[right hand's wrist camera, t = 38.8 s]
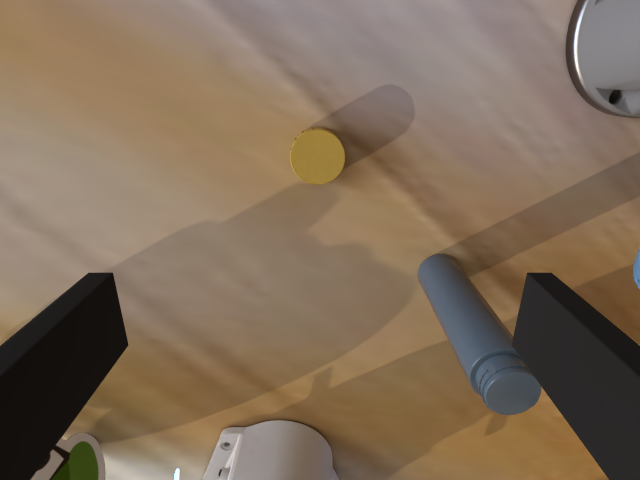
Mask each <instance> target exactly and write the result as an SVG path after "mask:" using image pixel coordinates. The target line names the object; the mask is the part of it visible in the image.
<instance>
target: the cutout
mask: <svg viewBox="0 0 640 480" xmlns="http://www.w3.org/2000/svg"><path fill="white" fill-rule="evenodd" d="M105 475H106V474H105V462H104V457H103V454H102V451H101V448H100V446H99V444H98V442H97V440H96V439H95V438H94V437H92V436H91V435H89V434H87V433H76V434H74V435H73V436H71V437H70V438H68V439H67V440H64V439H62V438H61V439H60V440H59V441H58V443H57V444H56V445H55V447H54V448H53V450H52V451H51V452H50V454H49V455H48V456H47V458H46V459H45V461H44V462H43V463H42V465H41V466H40V467H39V469H38V470H37V472H36V473H35V474H34V476H33V477H32V479H31V480H105Z"/></svg>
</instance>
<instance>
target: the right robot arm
mask: <svg viewBox="0 0 640 480" xmlns="http://www.w3.org/2000/svg"><path fill="white" fill-rule="evenodd" d="M566 60H567V66H568V71H569V74H570V77H571V80H572V82H573V84H574V86H575V88H576V89H577V91H578V92H579V94H580V95H581V96H582V97H583V98H584V99H585V101H587V102H588V103H589V104H590V105H591V106H593V107H595V108H596V109H598V110H600V111H602V112H605V113H608V114H611V115H616V116H624V117H633V118H640V0H578V1H577V4H576V6H575V8H574V11H573V14H572V16H571V20H570V23H569V27H568V32H567V40H566ZM633 275H634V280H635V282H636V284H637V286H638V288H639V289H640V247H639V250H638V253H637V256H636V259H635V262H634V266H633ZM127 346H128V341H127V336H126V332H125V327H124V322H123V318H122V313H121V309H120V304H119V299H118V295H117V290H116V285H115V281H114V276H113V273H88V274H87V275H85V276H84V277H83V278H82V279H81V280H79V281H78V282H77V283H76V284H75V285H73V286H72V287H71V288H70V289H69V290H67V291H66V292H65V293H64V294H62V295H61V296H60V297H59V298H58V299H56V300H55V301H54V302H53V303H52V304H50V305H49V306H48V307H47V308H46V309H44V310H43V311H42V312H41V313H40V314H38V315H37V316H36V317H35V318H33V319H32V320H31V321H30V322H29V323H27V324H26V325H25V326H24V327H23V328H21V329H20V330H19V331H18V332H17V333H15V334H14V335H13V336H12V337H11V338H9V339H8V340H7V341H6V342H4V343H3V344H2V345H1V346H0V480H31V479H32V477H33V476H34V474H35V473H36V472H37V470H38V469H39V467H40V466H41V465H42V463H43V462H44V461H45V459H46V458H47V456H48V455H49V454H50V452H51V451H52V450H53V448H54V447H55V445H56V444H57V443H58V441H59V440H60V439H61V437H62V436H63V434H64V433H65V432H66V430H67V429H68V428H69V426H70V425H71V423H72V422H73V421H74V419H75V418H76V417H77V415H78V414H79V412H80V411H81V410H82V408H83V407H84V406H85V404H86V403H87V401H88V400H89V399H90V397H91V396H92V395H93V393H94V392H95V390H96V389H97V388H98V386H99V385H100V383H101V382H102V381H103V379H104V378H105V377H106V375H107V374H108V372H109V371H110V370H111V368H112V367H113V366H114V364H115V363H116V361H117V360H118V359H119V357H120V356H121V355H122V353H123V352H124V350H125V349H126V348H127ZM512 346H513V348H514V349H515V350H516V352H517V353H518V355H519V356H520V357H521V359H522V360H523V361H524V363H525V364H526V366H527V367H528V368H529V370H530V371H531V372H532V374H533V375H534V377H535V378H536V379H537V381H538V382H539V383H540V385H541V386H542V388H543V389H544V390H545V392H546V393H547V395H548V396H549V397H550V399H551V400H552V401H553V403H554V404H555V406H556V407H557V408H558V410H559V411H560V412H561V414H562V415H563V417H564V418H565V419H566V421H567V422H568V423H569V425H570V426H571V428H572V429H573V430H574V432H575V433H576V434H577V436H578V437H579V439H580V440H581V441H582V443H583V444H584V445H585V447H586V448H587V450H588V451H589V452H590V454H591V455H592V456H593V458H594V459H595V461H596V462H597V463H598V465H599V466H600V467H601V469H602V470H603V472H604V473H605V474H606V476H607V477H608V479H609V480H640V346H639V345H638V344H637V343H636V342H634V341H633V340H632V339H631V338H629V337H628V336H627V335H626V334H625V333H623V332H622V331H621V330H620V329H619V328H617V327H616V326H615V325H614V324H613V323H611V322H610V321H609V320H608V319H607V318H605V317H604V316H603V315H602V314H600V313H599V312H598V311H597V310H596V309H594V308H593V307H592V306H591V305H590V304H588V303H587V302H586V301H585V300H584V299H582V298H581V297H580V296H579V295H578V294H576V293H575V292H574V291H573V290H571V289H570V288H569V287H568V286H567V285H565V284H564V283H563V282H562V281H561V280H559V279H558V278H557V277H556V276H555V275H553V274H552V273H527V276H526V281H525V285H524V290H523V295H522V299H521V304H520V309H519V313H518V318H517V322H516V327H515V332H514V336H513V341H512Z"/></svg>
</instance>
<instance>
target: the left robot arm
mask: <svg viewBox="0 0 640 480" xmlns="http://www.w3.org/2000/svg"><path fill="white" fill-rule="evenodd" d="M175 480H179V469H176V472H175ZM202 480H339V478H338V475H337V474H336V472H335V470H334V469H333V455H332V451H331V448H330V446H329V444H328V442H327V441H326V440H325V438H324V437H323V436H322V435H321V434H319V433H318V432H317V431H315V430H314V429H312V428H310V427H308V426H306V425H303V424H300V423H297V422H292V421H285V420H274V421H266V422H262V423H258V424H255V425H252V426H249V427H230V428H226V429H224V430H223V431H222V433H221V435H220V437H219V440H218V442H217V445H216V447H215V449H214V452H213V454H212V457H211V459H210V462H209V464H208V466H207V469H206V471H205V474H204V476H203V479H202Z"/></svg>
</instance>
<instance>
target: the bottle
mask: <svg viewBox="0 0 640 480" xmlns="http://www.w3.org/2000/svg"><path fill="white" fill-rule="evenodd" d="M418 280H419V282H420V284H421V286H422V288H423V290H424V292H425V294H426V296H427V298H428V300H429V302H430V304H431V306H432V308H433V310H434V312H435V314H436V316H437V318H438V320H439V322H440V324H441V326H442V328H443V330H444V333H445V335H446V337H447V339H448V341H449V343H450V345H451V347H452V349H453V351H454V353H455V355H456V357H457V359H458V361H459V363H460V365H461V367H462V369H463V371H464V373H465V375H466V377H467V379H468V381H469V383H470V385H471V387H472V388H473V390H474V391H475V392H476V393H478V394H479V395H481V397H482V400H483V401H484V403H485V405H486V406H487V407H488V408H490V409H491V410H492V411H494V412H496V413H499V414H502V415H514V414H519V413H522V412H524V411H526V410H528V409H529V408H531V407H532V406H534V405H535V404H536V402H537V401H538V399H539V397H540V394H541V385H540V383H539V382H538V381H537V379H536V378H535V377H534V375H533V374H532V372H531V371H530V370H529V368H528V367H527V366H526V364H525V363H524V361H523V360H522V359H521V357H520V356H519V355H518V353H517V352H516V350H515V349H514V348H513V346H512V341H513V336H512V334H511V333H510V332H509V330H508V329H507V328H506V326H505V325H504V324H503V323H502V321H501V320H500V319H499V317H498V316H497V315H496V313H495V312H494V311H493V309H492V308H491V307H490V305H489V304H488V303H487V301H486V300H485V299H484V297H483V296H482V295H481V293H480V292H479V291H478V289H477V288H476V287H475V286H474V284H473V283H472V282H471V280H470V279H469V278H468V276H467V275H466V274H465V272H464V271H463V270H462V268H461V267H460V266H459V264H458V263H457V262H456V261H455V259H453V258H452V257H450V256H448V255H444V254H438V255H433V256H431V257H429V258H427V259H426V260H425V261H424V262H423V263H422V264H421V266H420V267H419V270H418Z"/></svg>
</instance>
